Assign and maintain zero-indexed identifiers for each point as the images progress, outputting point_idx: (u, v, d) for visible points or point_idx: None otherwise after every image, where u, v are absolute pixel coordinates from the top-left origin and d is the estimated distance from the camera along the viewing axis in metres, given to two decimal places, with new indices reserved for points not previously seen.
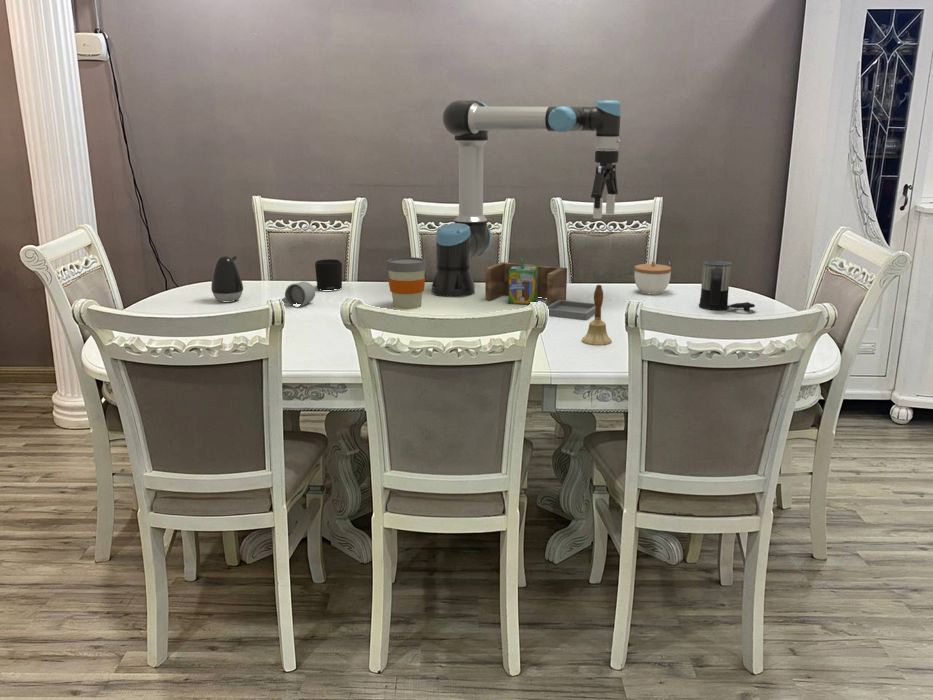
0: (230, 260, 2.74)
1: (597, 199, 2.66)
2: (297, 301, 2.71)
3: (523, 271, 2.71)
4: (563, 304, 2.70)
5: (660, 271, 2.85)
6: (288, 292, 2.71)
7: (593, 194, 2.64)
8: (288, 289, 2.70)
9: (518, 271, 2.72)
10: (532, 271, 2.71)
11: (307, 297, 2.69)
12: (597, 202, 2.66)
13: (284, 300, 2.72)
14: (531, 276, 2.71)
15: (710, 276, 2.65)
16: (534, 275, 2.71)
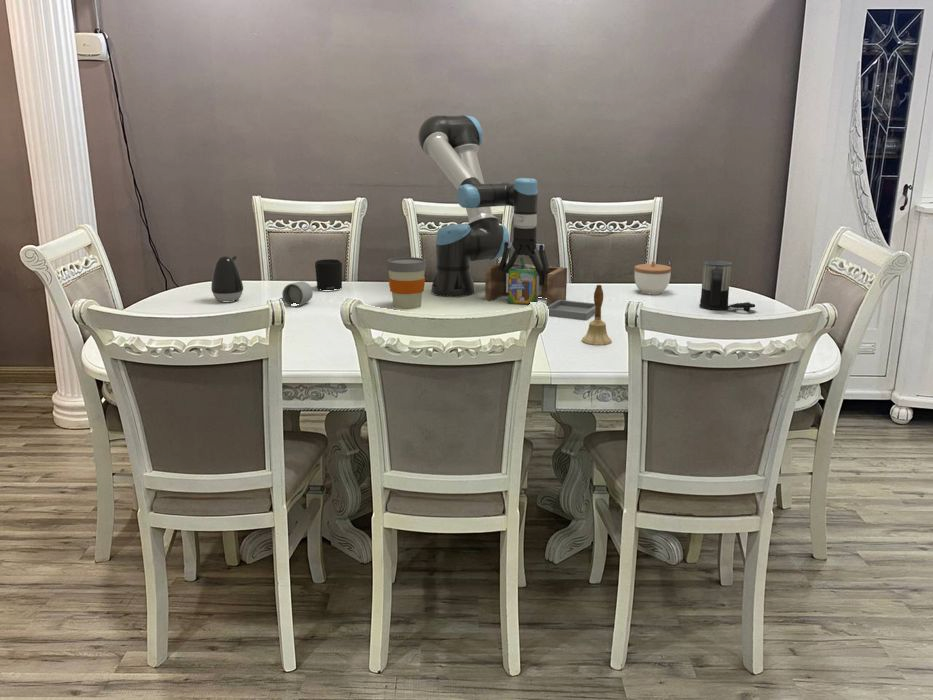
0: (230, 260, 2.74)
1: None
2: (295, 301, 2.71)
3: (523, 271, 2.71)
4: (563, 304, 2.70)
5: (660, 271, 2.85)
6: (286, 292, 2.72)
7: None
8: (286, 289, 2.71)
9: (518, 271, 2.72)
10: (532, 271, 2.71)
11: (305, 297, 2.70)
12: None
13: (282, 300, 2.72)
14: (531, 276, 2.71)
15: (710, 276, 2.65)
16: (534, 275, 2.71)
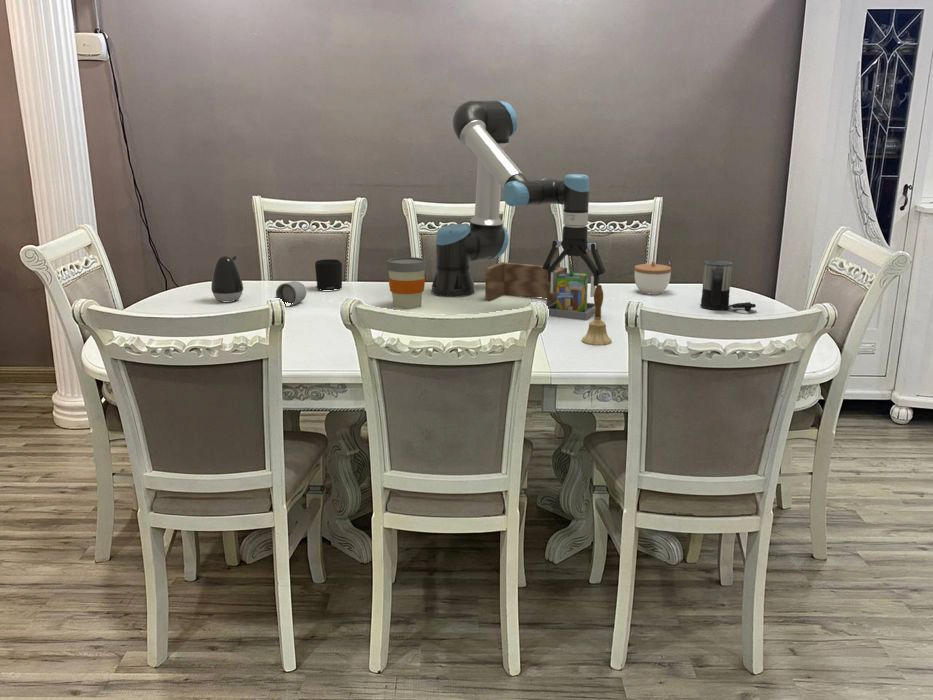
0: (230, 260, 2.74)
1: None
2: (288, 300, 2.72)
3: (572, 279, 2.56)
4: None
5: (660, 271, 2.85)
6: (279, 291, 2.72)
7: None
8: (279, 288, 2.71)
9: (567, 279, 2.56)
10: (581, 279, 2.55)
11: (298, 296, 2.70)
12: None
13: None
14: (580, 284, 2.55)
15: (711, 276, 2.65)
16: (584, 283, 2.55)
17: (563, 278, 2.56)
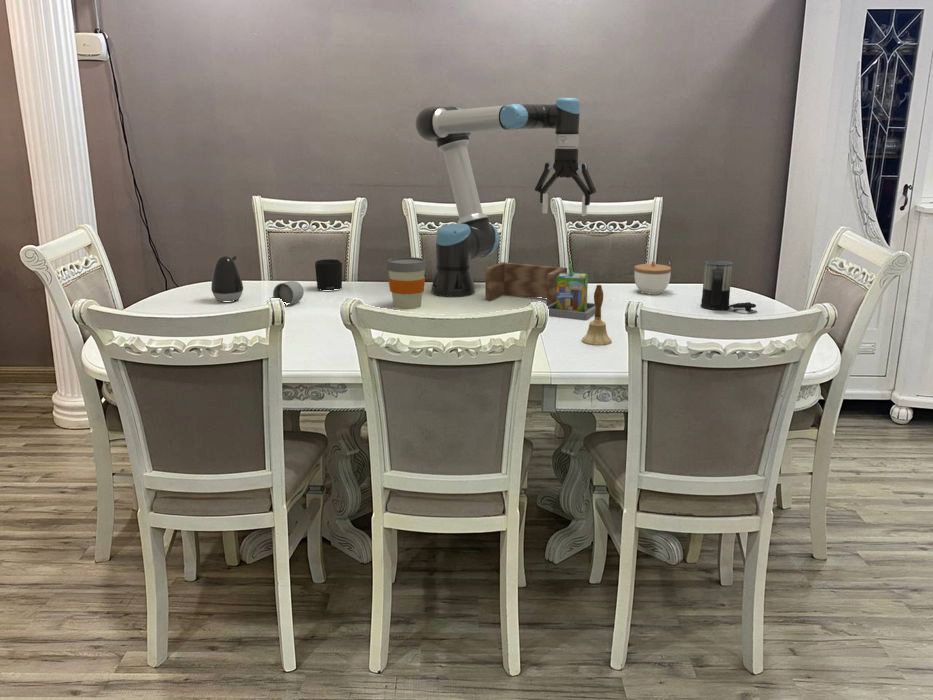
0: (230, 260, 2.74)
1: None
2: (285, 300, 2.72)
3: (572, 279, 2.56)
4: None
5: (660, 271, 2.85)
6: (276, 291, 2.73)
7: None
8: (276, 288, 2.72)
9: (567, 279, 2.56)
10: (581, 279, 2.55)
11: (295, 296, 2.71)
12: None
13: None
14: (580, 284, 2.55)
15: (711, 276, 2.65)
16: (584, 283, 2.55)
17: (563, 278, 2.56)
